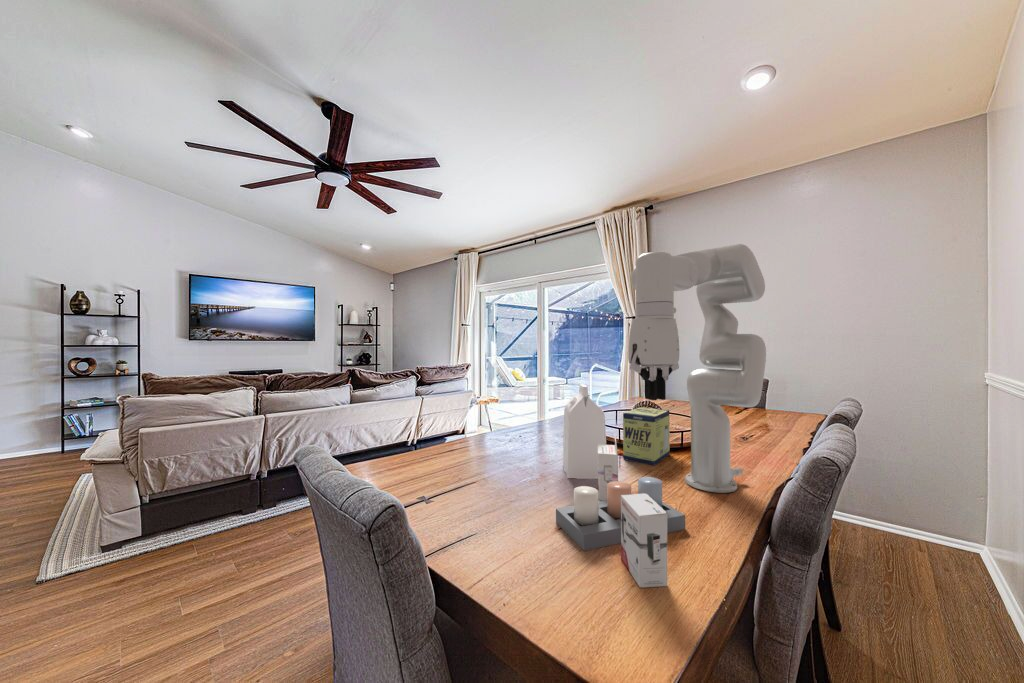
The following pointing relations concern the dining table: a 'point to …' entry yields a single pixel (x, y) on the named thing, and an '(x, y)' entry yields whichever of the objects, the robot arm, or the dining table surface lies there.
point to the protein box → (646, 435)
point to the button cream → (586, 505)
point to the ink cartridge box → (607, 467)
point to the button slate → (651, 488)
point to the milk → (582, 436)
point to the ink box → (644, 539)
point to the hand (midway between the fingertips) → (655, 398)
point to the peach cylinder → (616, 497)
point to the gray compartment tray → (606, 526)
